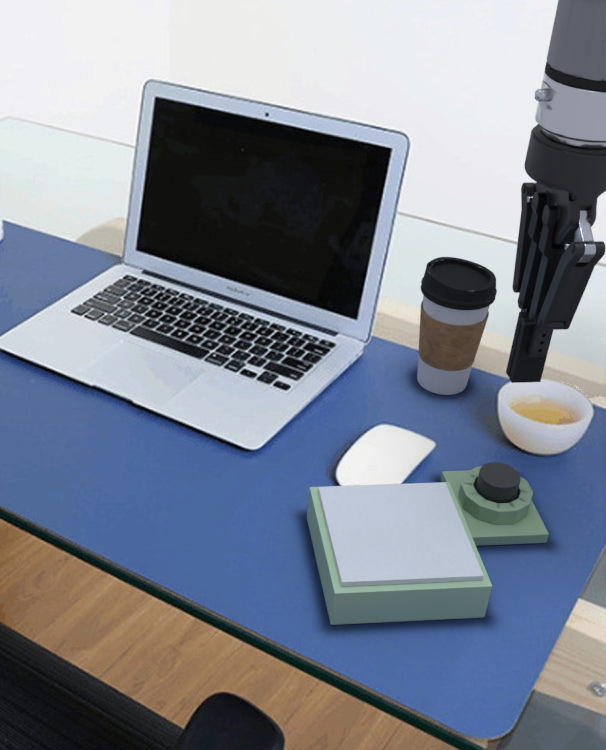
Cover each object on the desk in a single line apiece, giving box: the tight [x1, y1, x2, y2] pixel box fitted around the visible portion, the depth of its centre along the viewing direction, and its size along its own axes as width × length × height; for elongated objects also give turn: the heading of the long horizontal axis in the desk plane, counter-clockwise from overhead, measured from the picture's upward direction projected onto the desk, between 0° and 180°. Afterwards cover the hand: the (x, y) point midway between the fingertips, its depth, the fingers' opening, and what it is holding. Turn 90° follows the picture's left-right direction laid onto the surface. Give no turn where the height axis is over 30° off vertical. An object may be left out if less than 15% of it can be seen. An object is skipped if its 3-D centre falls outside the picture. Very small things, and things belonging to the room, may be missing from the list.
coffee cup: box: [416, 256, 498, 396], centre depth 116 cm, size 8×8×15 cm
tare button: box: [476, 461, 521, 503], centre depth 100 cm, size 4×4×2 cm
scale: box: [306, 481, 493, 626], centre depth 93 cm, size 14×14×5 cm
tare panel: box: [440, 465, 550, 547], centre depth 101 cm, size 8×10×3 cm
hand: (523, 376), depth 92 cm, fingers closed
